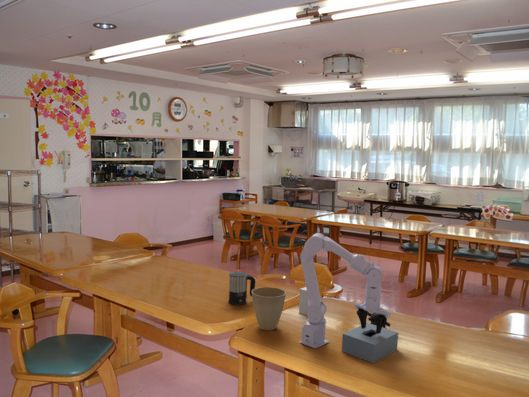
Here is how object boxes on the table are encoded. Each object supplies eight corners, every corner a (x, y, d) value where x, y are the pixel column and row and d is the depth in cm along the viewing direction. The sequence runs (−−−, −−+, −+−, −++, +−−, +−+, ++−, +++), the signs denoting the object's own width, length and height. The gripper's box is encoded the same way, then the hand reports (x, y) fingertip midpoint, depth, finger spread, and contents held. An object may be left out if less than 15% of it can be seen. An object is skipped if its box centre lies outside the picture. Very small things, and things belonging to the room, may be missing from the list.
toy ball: (384, 330, 195) (360, 317, 202) (385, 339, 203) (362, 326, 209) (395, 311, 199) (371, 299, 206) (396, 321, 207) (373, 309, 213)
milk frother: (235, 306, 227) (236, 276, 225) (216, 298, 239) (217, 270, 237) (257, 301, 236) (258, 273, 235) (238, 293, 248) (239, 266, 247)
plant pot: (267, 318, 211) (268, 284, 210) (291, 328, 201) (293, 292, 199) (243, 326, 201) (244, 290, 199) (267, 336, 190) (268, 299, 189)
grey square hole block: (373, 363, 170) (374, 344, 169) (341, 351, 179) (342, 333, 178) (397, 349, 183) (398, 332, 182) (366, 338, 192) (367, 322, 191)
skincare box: (305, 310, 225) (306, 286, 224) (312, 312, 223) (314, 288, 222) (298, 313, 221) (299, 288, 220) (305, 315, 218) (306, 290, 217)
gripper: (395, 299, 177) (392, 333, 178) (362, 290, 187) (360, 322, 188) (386, 302, 172) (383, 338, 173) (352, 293, 182) (350, 327, 183)
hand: (370, 330), depth 180 cm, fingers open, 6 cm apart
